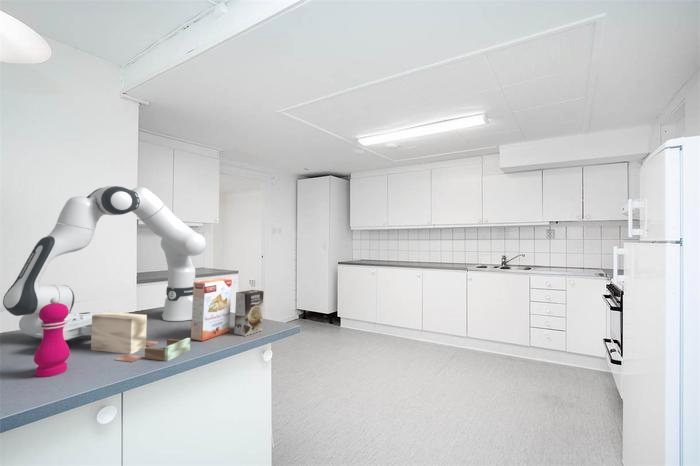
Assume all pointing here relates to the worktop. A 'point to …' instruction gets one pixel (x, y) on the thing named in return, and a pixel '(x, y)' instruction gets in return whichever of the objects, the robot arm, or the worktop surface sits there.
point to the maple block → (118, 332)
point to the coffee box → (248, 312)
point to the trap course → (161, 351)
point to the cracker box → (210, 308)
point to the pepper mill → (52, 340)
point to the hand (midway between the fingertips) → (99, 329)
